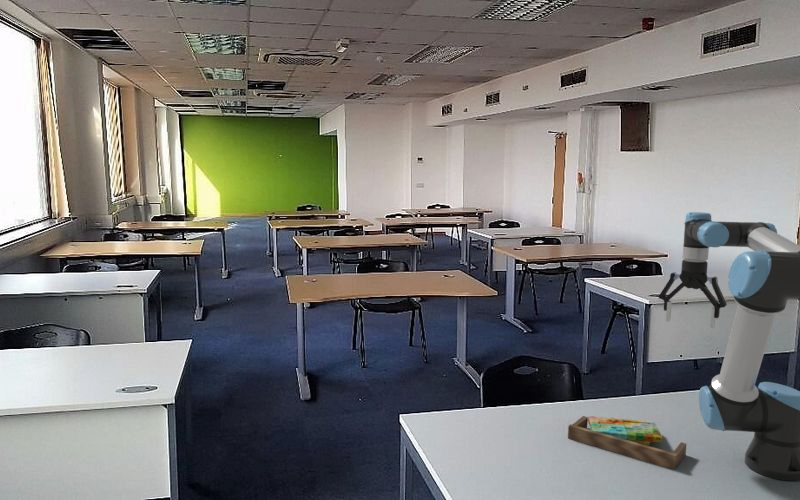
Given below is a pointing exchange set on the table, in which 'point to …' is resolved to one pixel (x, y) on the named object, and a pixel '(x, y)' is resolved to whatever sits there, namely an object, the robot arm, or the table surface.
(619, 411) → the table surface
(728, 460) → the table surface
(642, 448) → the frame
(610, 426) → the puzzle game
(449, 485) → the table surface
